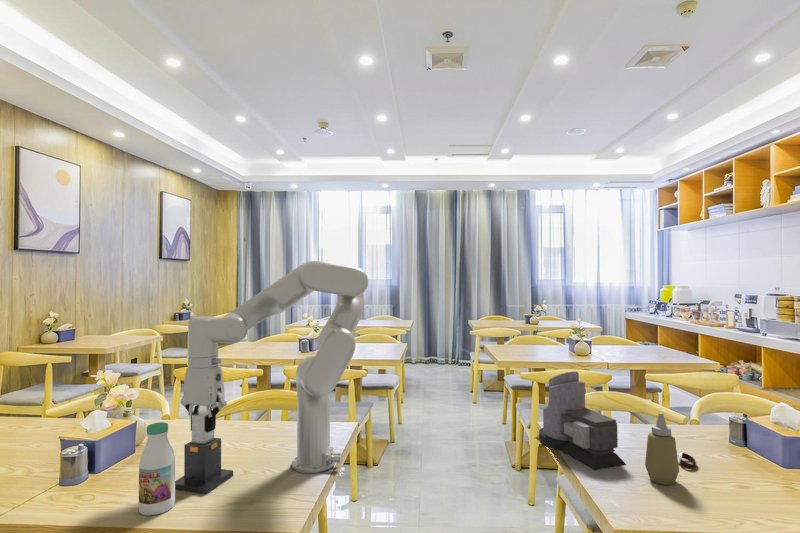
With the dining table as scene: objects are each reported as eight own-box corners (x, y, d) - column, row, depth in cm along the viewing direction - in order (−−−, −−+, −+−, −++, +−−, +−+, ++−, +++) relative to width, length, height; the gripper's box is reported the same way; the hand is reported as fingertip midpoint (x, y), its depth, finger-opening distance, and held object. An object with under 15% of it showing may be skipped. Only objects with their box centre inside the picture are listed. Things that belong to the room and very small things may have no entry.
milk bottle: (147, 500, 113) (148, 420, 113) (180, 499, 113) (180, 419, 113) (132, 517, 105) (132, 430, 105) (166, 515, 105) (167, 429, 106)
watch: (677, 459, 137) (676, 447, 137) (695, 462, 134) (695, 450, 134) (677, 468, 130) (677, 456, 130) (697, 472, 128) (696, 459, 128)
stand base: (233, 475, 126) (233, 436, 126) (206, 494, 116) (206, 451, 116) (199, 471, 129) (199, 432, 129) (170, 489, 118) (171, 447, 119)
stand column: (214, 474, 124) (214, 411, 124) (204, 480, 120) (204, 416, 120) (201, 472, 125) (201, 410, 125) (191, 479, 121) (191, 415, 121)
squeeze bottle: (667, 490, 117) (666, 420, 117) (638, 477, 124) (637, 411, 124) (686, 483, 120) (685, 415, 121) (656, 471, 128) (655, 407, 128)
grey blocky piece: (527, 435, 157) (526, 365, 157) (566, 430, 161) (565, 362, 162) (587, 471, 128) (586, 385, 128) (632, 464, 133) (631, 380, 133)
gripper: (238, 361, 124) (238, 428, 124) (187, 358, 129) (187, 423, 128) (221, 366, 117) (220, 437, 117) (167, 363, 121) (167, 432, 121)
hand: (203, 429), depth 123 cm, fingers closed on stand column, 4 cm apart
